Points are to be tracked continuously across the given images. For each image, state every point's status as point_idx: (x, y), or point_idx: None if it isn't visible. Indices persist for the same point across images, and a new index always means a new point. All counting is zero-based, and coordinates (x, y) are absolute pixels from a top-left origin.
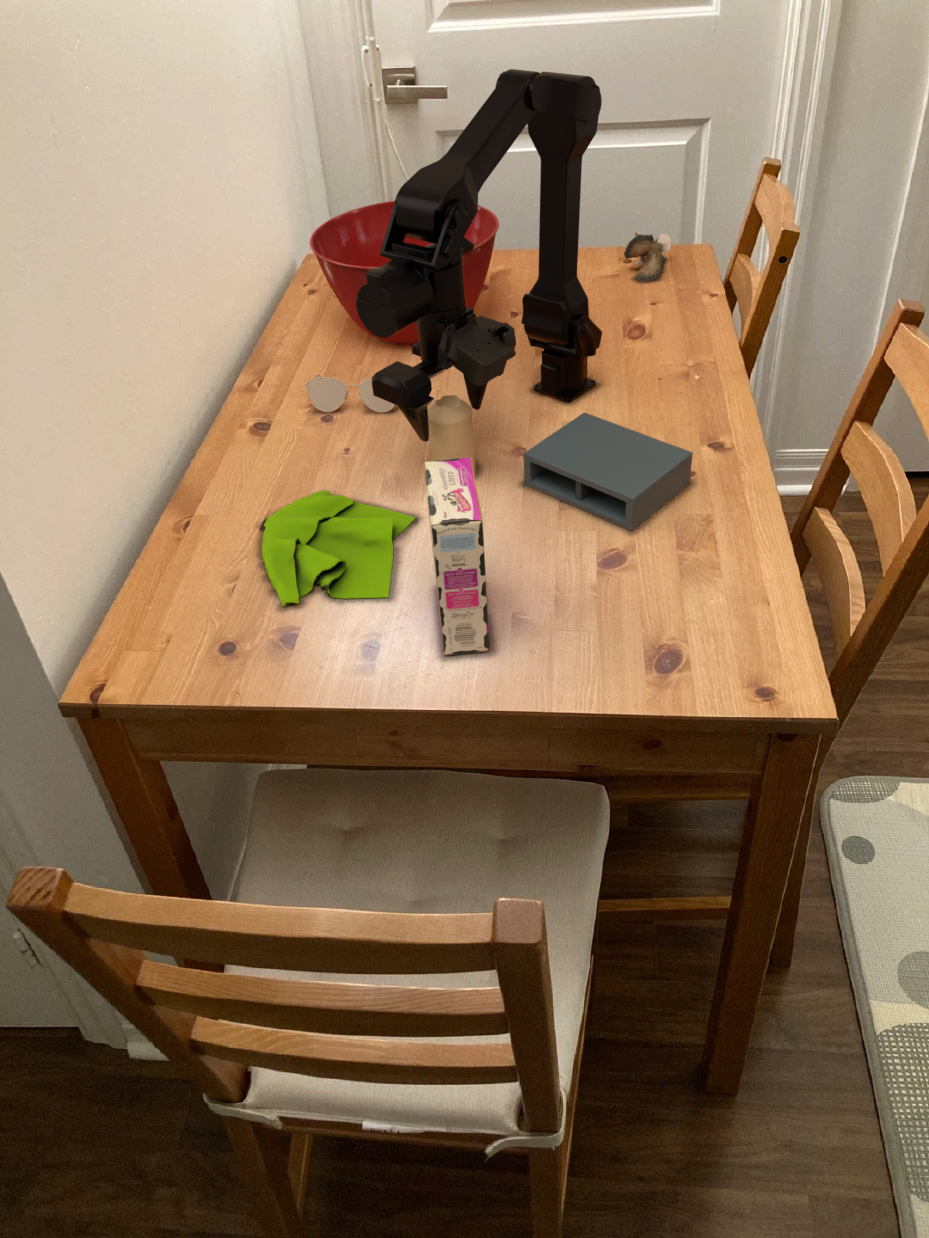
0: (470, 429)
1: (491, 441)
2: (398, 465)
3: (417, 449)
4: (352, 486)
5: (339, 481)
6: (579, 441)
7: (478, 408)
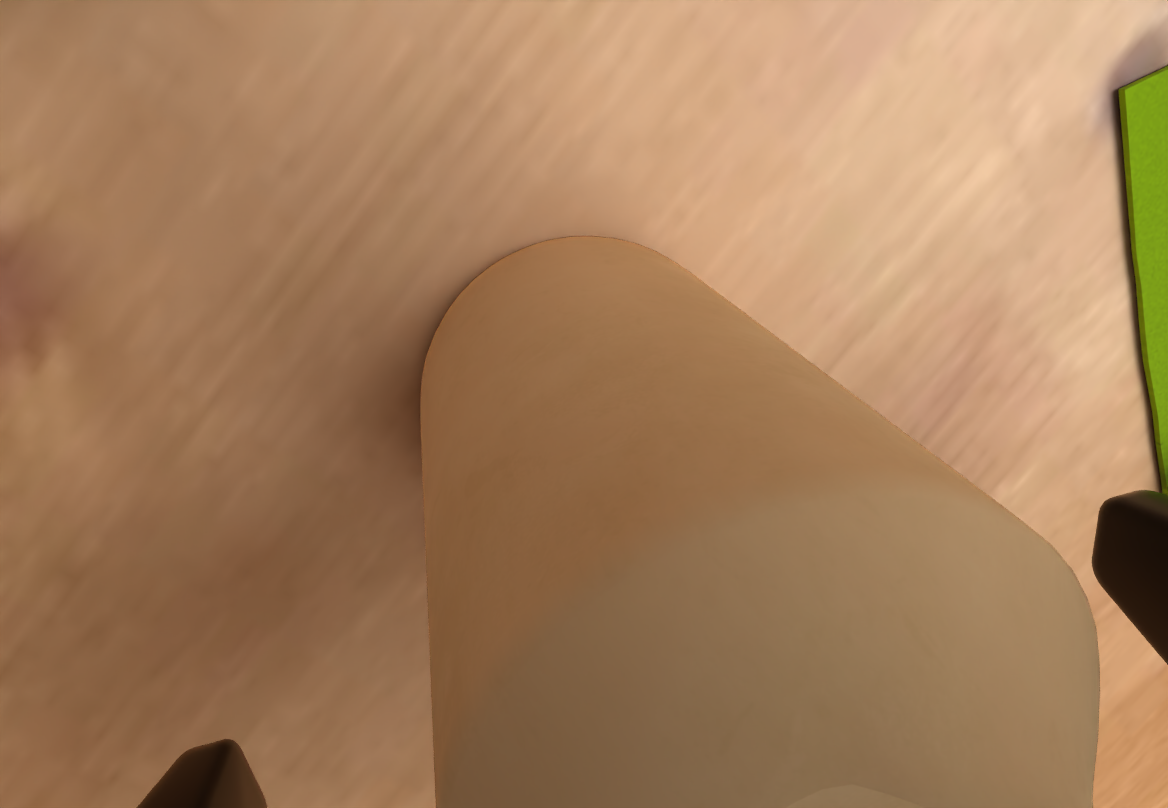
0: (594, 422)
1: (120, 546)
2: None
3: None
4: None
5: None
6: None
7: (218, 754)
